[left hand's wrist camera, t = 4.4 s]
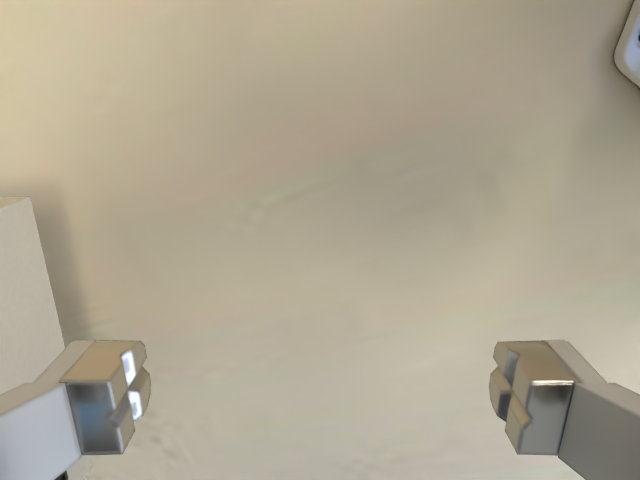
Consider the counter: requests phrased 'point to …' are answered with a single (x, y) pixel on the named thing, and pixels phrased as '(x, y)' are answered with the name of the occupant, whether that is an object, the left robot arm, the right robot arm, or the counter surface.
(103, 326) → the counter surface
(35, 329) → the bar
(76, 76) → the counter surface
